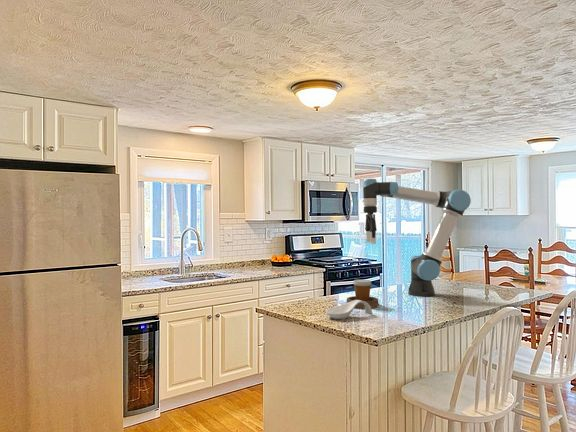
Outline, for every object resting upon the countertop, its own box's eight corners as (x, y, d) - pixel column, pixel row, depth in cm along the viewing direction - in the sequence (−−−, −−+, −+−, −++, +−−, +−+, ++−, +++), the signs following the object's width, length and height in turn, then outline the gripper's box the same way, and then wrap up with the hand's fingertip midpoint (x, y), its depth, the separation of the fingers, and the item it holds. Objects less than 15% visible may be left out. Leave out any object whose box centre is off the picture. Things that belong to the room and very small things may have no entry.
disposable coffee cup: (371, 305, 224) (371, 282, 224) (352, 305, 226) (352, 281, 226) (371, 302, 233) (371, 279, 233) (353, 301, 235) (353, 279, 235)
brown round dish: (358, 301, 241) (358, 294, 241) (385, 305, 229) (385, 298, 229) (339, 305, 230) (339, 298, 230) (366, 310, 217) (366, 303, 217)
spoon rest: (335, 322, 194) (335, 306, 194) (321, 317, 204) (320, 302, 204) (377, 316, 205) (376, 300, 205) (361, 311, 216) (361, 297, 216)
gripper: (359, 206, 263) (360, 242, 263) (367, 205, 238) (368, 244, 238) (372, 206, 263) (372, 241, 263) (381, 205, 238) (382, 244, 238)
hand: (370, 243), depth 250 cm, fingers open, 13 cm apart
